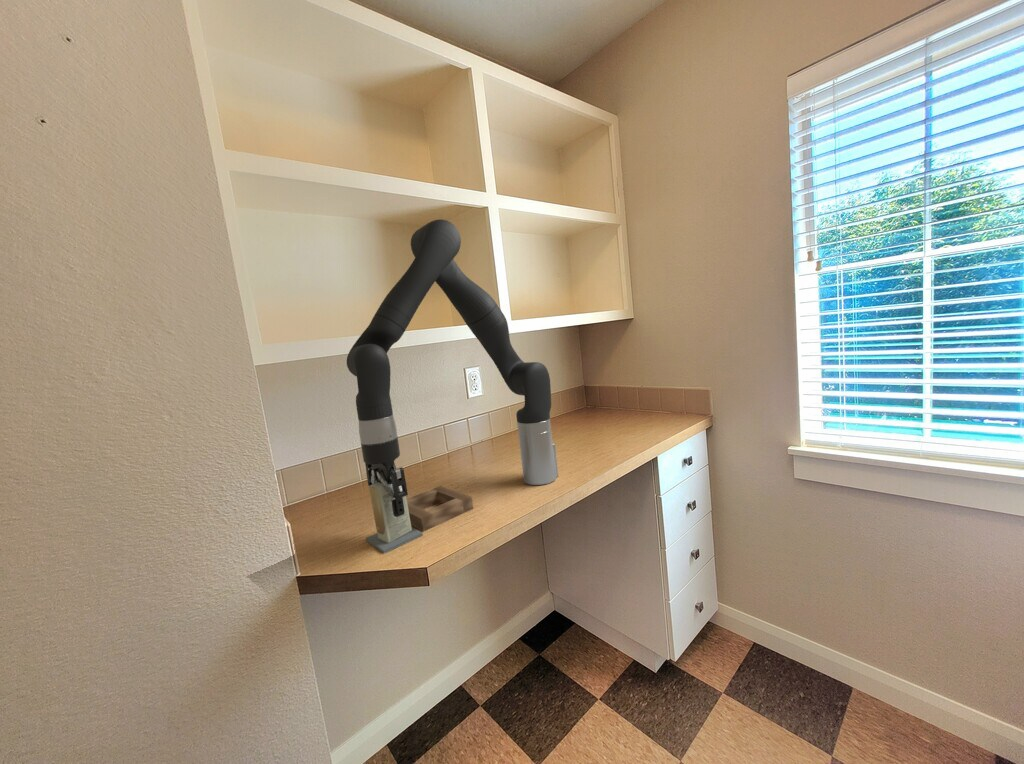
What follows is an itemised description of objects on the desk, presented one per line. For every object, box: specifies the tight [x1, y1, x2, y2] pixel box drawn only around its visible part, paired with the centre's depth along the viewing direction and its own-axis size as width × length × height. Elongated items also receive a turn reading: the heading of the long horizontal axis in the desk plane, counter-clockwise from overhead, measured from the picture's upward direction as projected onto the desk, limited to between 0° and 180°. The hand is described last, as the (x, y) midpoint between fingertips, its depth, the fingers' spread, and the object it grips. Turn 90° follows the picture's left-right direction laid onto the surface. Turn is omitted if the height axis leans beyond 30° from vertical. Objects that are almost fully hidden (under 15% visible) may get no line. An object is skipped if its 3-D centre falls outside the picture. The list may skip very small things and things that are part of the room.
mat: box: [365, 526, 424, 554], centre depth 88 cm, size 9×9×1 cm
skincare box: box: [368, 482, 412, 543], centre depth 87 cm, size 6×4×12 cm
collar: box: [407, 485, 474, 532], centre depth 99 cm, size 14×14×3 cm
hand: (390, 510), depth 87 cm, fingers open, 8 cm apart
